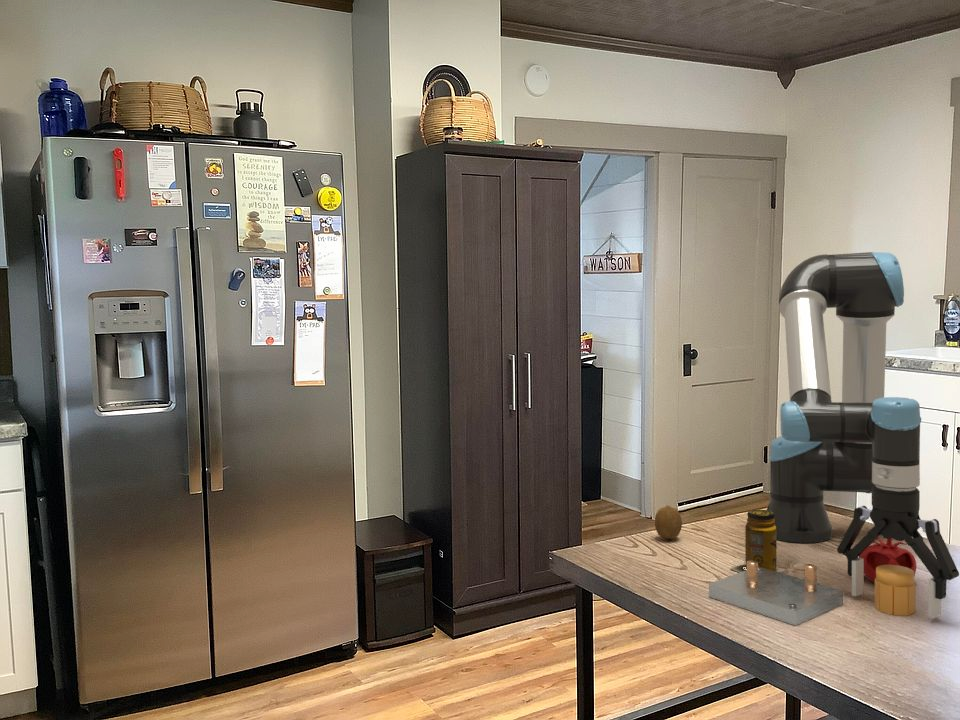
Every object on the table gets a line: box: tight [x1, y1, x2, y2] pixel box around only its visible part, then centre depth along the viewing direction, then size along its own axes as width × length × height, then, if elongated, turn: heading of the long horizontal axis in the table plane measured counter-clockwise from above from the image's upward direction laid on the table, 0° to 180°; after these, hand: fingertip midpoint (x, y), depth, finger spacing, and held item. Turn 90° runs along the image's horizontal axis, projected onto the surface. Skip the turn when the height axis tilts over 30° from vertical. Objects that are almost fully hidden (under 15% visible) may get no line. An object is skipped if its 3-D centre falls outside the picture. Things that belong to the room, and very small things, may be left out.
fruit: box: [654, 505, 683, 541], centre depth 190 cm, size 6×6×8 cm
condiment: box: [729, 509, 786, 573], centre depth 167 cm, size 7×8×12 cm
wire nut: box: [874, 565, 916, 616], centre depth 145 cm, size 6×6×7 cm
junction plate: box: [708, 561, 844, 626], centre depth 151 cm, size 15×18×7 cm
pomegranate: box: [858, 537, 917, 584], centre depth 159 cm, size 10×10×9 cm
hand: (894, 604), depth 145 cm, fingers open, 13 cm apart
